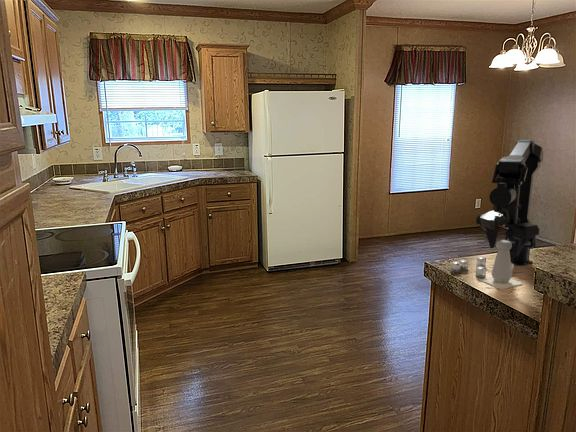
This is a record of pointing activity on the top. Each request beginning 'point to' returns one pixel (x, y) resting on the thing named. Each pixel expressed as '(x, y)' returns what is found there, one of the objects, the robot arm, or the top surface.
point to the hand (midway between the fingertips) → (503, 251)
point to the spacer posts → (480, 268)
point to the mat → (501, 285)
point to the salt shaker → (502, 263)
